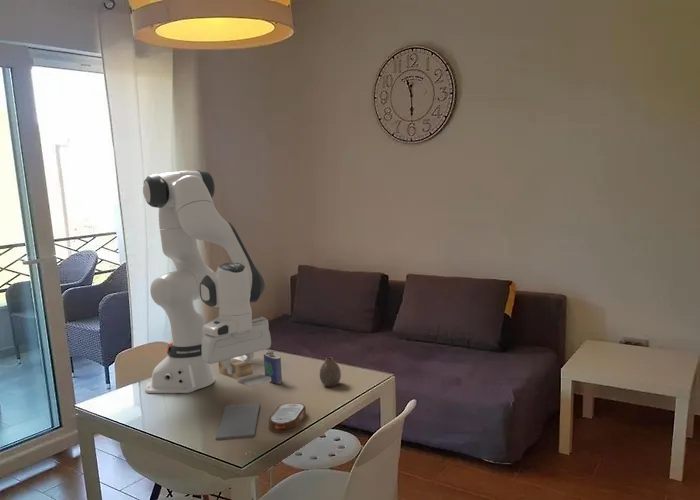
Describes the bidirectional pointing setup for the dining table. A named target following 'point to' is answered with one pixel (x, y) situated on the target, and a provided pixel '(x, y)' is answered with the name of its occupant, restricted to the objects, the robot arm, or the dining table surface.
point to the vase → (330, 373)
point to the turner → (244, 373)
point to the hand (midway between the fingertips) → (239, 371)
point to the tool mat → (238, 421)
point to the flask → (273, 367)
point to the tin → (287, 417)
